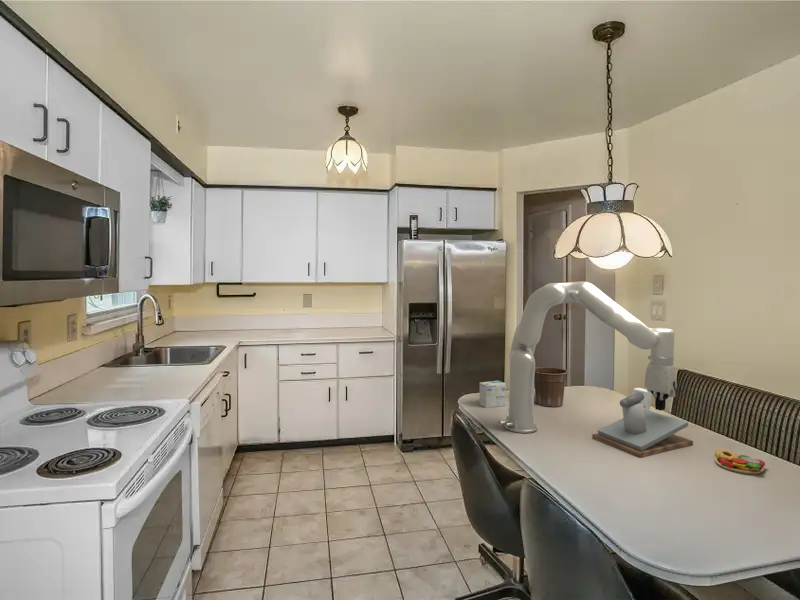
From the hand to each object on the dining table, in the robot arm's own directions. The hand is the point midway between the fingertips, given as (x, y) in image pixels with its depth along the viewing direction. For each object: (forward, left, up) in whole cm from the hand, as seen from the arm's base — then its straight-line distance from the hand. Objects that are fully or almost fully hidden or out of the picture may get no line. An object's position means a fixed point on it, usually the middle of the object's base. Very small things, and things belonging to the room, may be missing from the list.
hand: (660, 409), depth 172 cm
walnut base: (-10, 0, -11) cm, 14 cm away
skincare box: (+16, +20, -11) cm, 28 cm away
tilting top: (-9, 0, -7) cm, 11 cm away
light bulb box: (-32, +61, -11) cm, 70 cm away
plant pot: (-6, +52, -11) cm, 54 cm away
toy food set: (-1, -28, -11) cm, 30 cm away
